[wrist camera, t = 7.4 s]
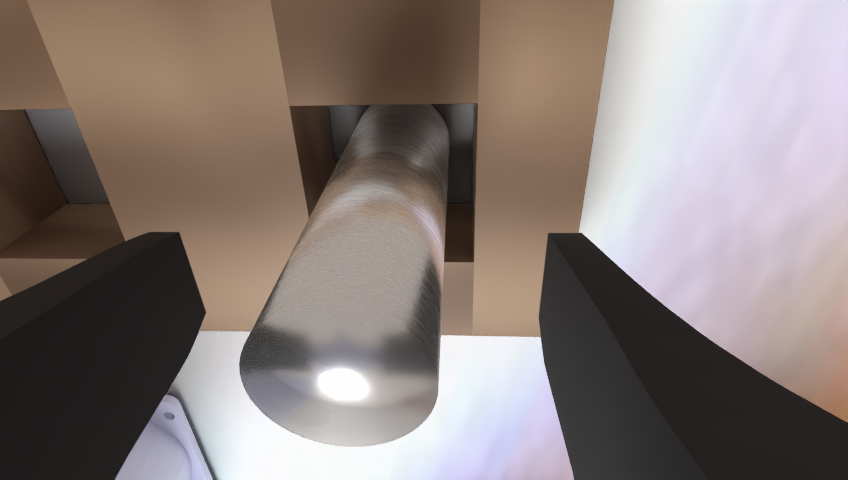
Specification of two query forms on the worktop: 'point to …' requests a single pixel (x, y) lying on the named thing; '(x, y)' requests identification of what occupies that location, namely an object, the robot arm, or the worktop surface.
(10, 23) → the hole block
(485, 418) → the worktop surface
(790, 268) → the worktop surface
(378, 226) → the steel peg
